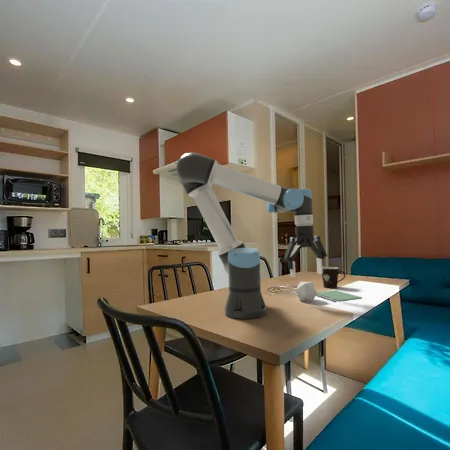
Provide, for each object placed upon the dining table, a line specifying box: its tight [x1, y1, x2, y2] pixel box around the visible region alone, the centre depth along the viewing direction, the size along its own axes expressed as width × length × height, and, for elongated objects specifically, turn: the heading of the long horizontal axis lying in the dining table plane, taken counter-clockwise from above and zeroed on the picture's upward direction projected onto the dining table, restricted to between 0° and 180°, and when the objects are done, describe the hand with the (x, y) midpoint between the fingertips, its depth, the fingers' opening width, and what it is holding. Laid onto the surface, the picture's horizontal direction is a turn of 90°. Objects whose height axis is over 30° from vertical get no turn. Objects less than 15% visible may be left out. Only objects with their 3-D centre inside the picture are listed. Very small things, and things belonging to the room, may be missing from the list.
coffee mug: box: [321, 266, 346, 290], centre depth 145 cm, size 12×9×10 cm
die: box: [295, 281, 318, 303], centre depth 120 cm, size 8×9×10 cm
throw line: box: [315, 294, 337, 303], centre depth 124 cm, size 1×16×1 cm, turn 20°
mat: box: [316, 290, 363, 302], centre depth 127 cm, size 12×16×1 cm
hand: (306, 275), depth 121 cm, fingers open, 13 cm apart
